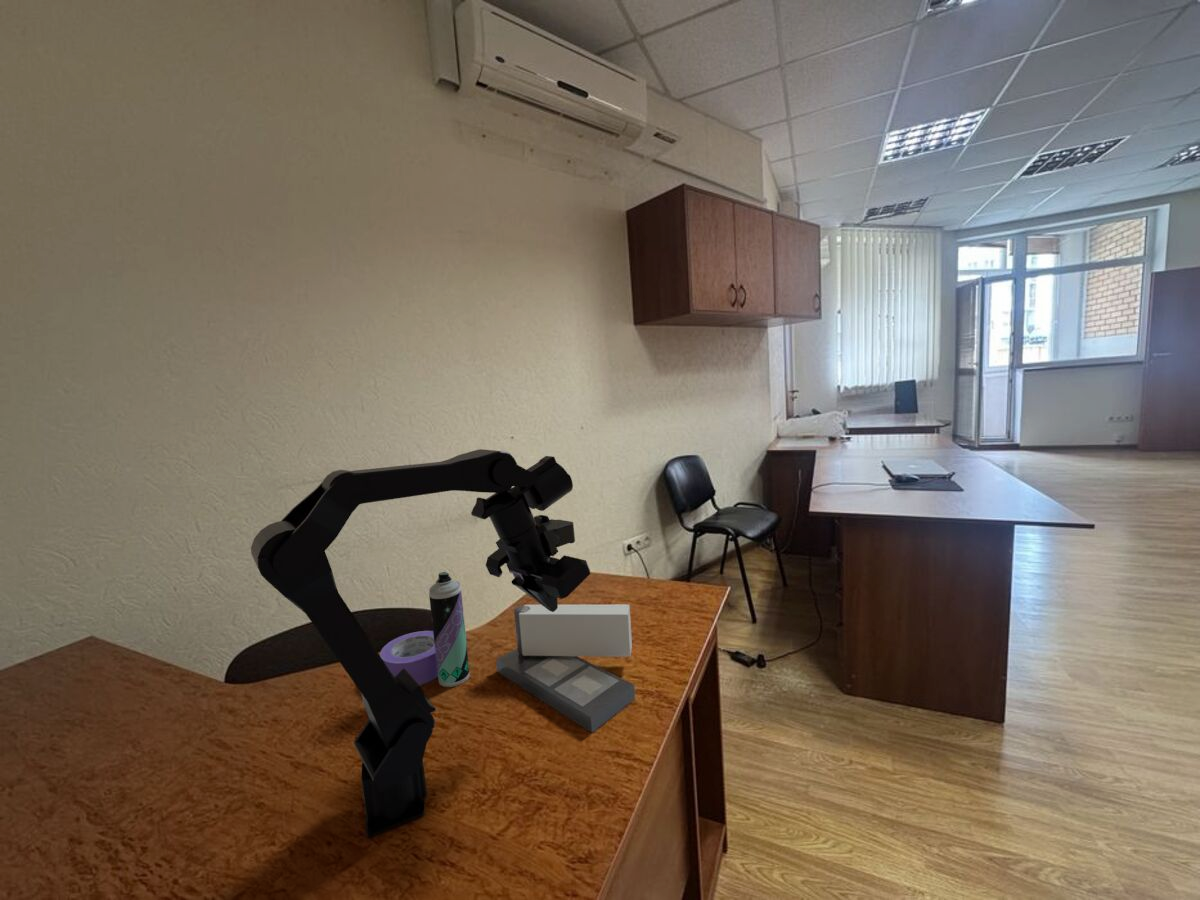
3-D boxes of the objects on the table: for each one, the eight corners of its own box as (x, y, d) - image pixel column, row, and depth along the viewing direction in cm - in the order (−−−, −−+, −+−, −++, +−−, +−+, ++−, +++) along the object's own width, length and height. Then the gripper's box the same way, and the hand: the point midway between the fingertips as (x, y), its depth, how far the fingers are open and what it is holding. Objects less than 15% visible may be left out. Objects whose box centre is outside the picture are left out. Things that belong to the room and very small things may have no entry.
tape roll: (458, 653, 95) (455, 630, 94) (431, 689, 83) (428, 662, 83) (403, 653, 96) (400, 630, 95) (369, 689, 84) (366, 662, 84)
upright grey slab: (514, 655, 87) (511, 614, 86) (521, 643, 91) (517, 604, 90) (630, 657, 84) (627, 614, 83) (631, 645, 88) (629, 604, 87)
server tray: (592, 732, 70) (590, 716, 69) (497, 671, 87) (495, 658, 87) (634, 699, 77) (634, 683, 76) (539, 648, 94) (538, 636, 94)
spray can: (432, 682, 85) (420, 577, 82) (454, 666, 90) (443, 566, 87) (454, 690, 82) (442, 581, 80) (476, 673, 87) (465, 569, 85)
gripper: (596, 503, 67) (628, 589, 73) (519, 494, 80) (551, 567, 86) (542, 550, 60) (582, 640, 65) (467, 531, 73) (505, 608, 79)
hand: (554, 609), depth 74 cm, fingers closed
